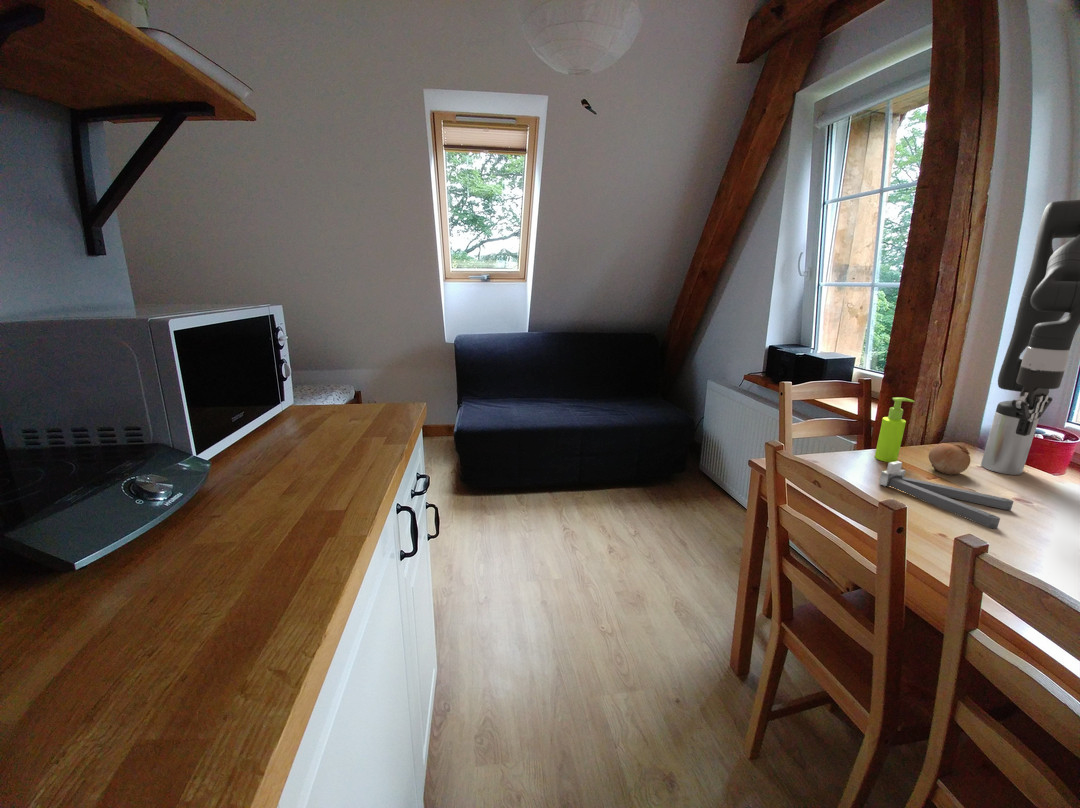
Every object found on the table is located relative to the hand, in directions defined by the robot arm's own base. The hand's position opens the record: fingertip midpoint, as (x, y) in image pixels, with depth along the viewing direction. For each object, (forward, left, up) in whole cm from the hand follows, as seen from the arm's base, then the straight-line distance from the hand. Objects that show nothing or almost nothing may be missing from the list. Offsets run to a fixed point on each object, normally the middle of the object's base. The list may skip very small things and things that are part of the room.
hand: (1022, 434), depth 120 cm
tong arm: (+10, -6, -18) cm, 21 cm away
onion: (-7, -17, -19) cm, 26 cm away
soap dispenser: (-1, -30, -19) cm, 35 cm away
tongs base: (+17, -6, -18) cm, 26 cm away
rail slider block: (+17, -18, -18) cm, 30 cm away
